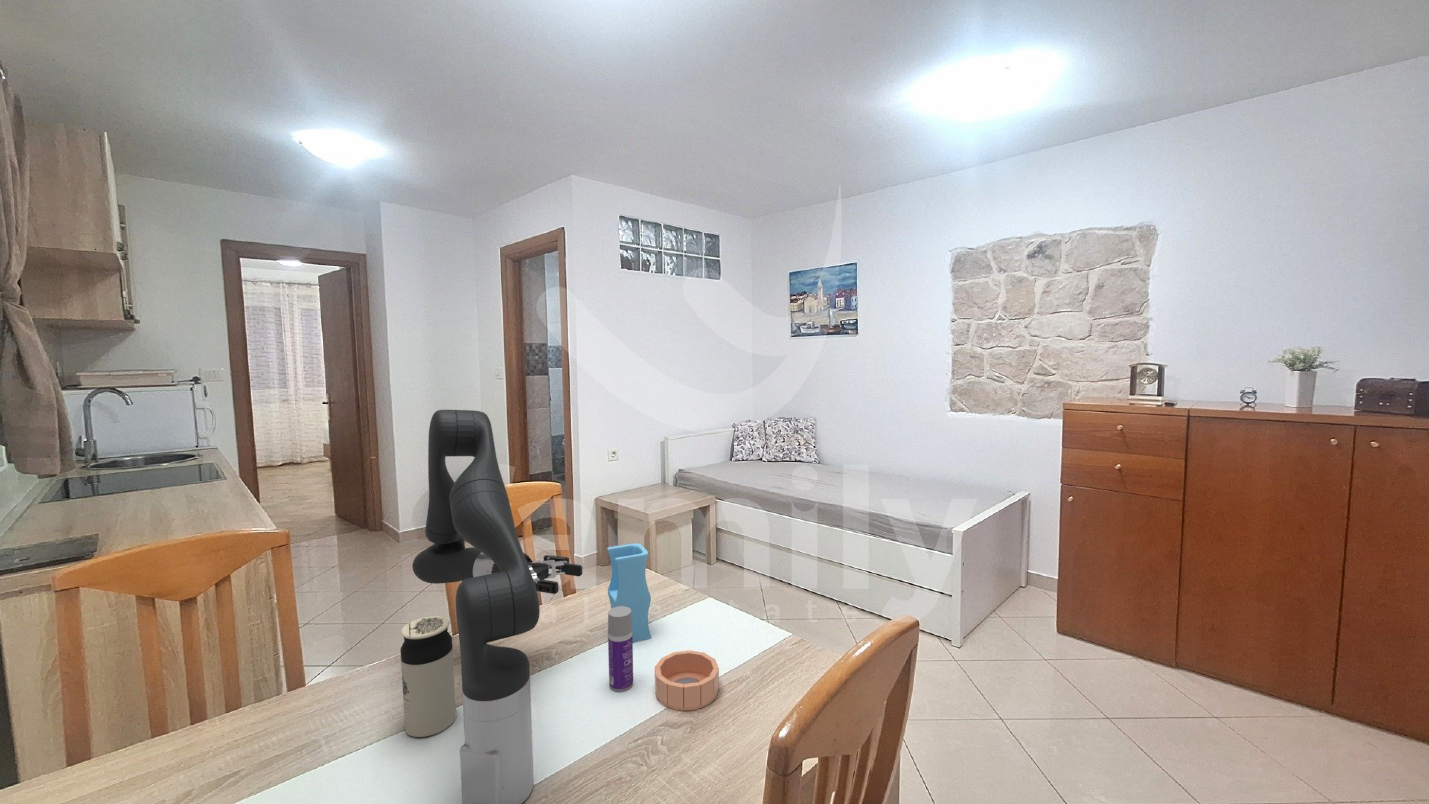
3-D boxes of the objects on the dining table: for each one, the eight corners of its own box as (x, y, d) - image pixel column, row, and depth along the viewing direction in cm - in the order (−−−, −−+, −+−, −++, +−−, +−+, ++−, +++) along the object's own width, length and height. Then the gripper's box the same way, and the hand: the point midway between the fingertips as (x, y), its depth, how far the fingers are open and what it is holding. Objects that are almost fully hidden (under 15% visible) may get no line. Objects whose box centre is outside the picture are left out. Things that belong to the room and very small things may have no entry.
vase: (608, 630, 129) (606, 547, 127) (641, 622, 132) (639, 542, 130) (617, 646, 122) (615, 559, 120) (651, 638, 125) (650, 553, 123)
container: (628, 693, 105) (626, 618, 104) (605, 690, 106) (603, 615, 104) (636, 679, 110) (635, 606, 108) (614, 676, 110) (613, 604, 109)
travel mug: (457, 704, 102) (452, 611, 100) (454, 731, 94) (449, 632, 93) (409, 714, 99) (403, 619, 97) (401, 744, 92) (395, 641, 90)
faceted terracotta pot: (706, 716, 98) (706, 692, 98) (645, 703, 102) (645, 680, 101) (725, 678, 110) (725, 656, 109) (669, 668, 113) (669, 646, 113)
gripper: (477, 564, 107) (548, 575, 102) (523, 540, 120) (588, 548, 116) (478, 601, 108) (549, 613, 103) (524, 573, 121) (589, 582, 116)
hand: (570, 579), depth 109 cm, fingers open, 8 cm apart
